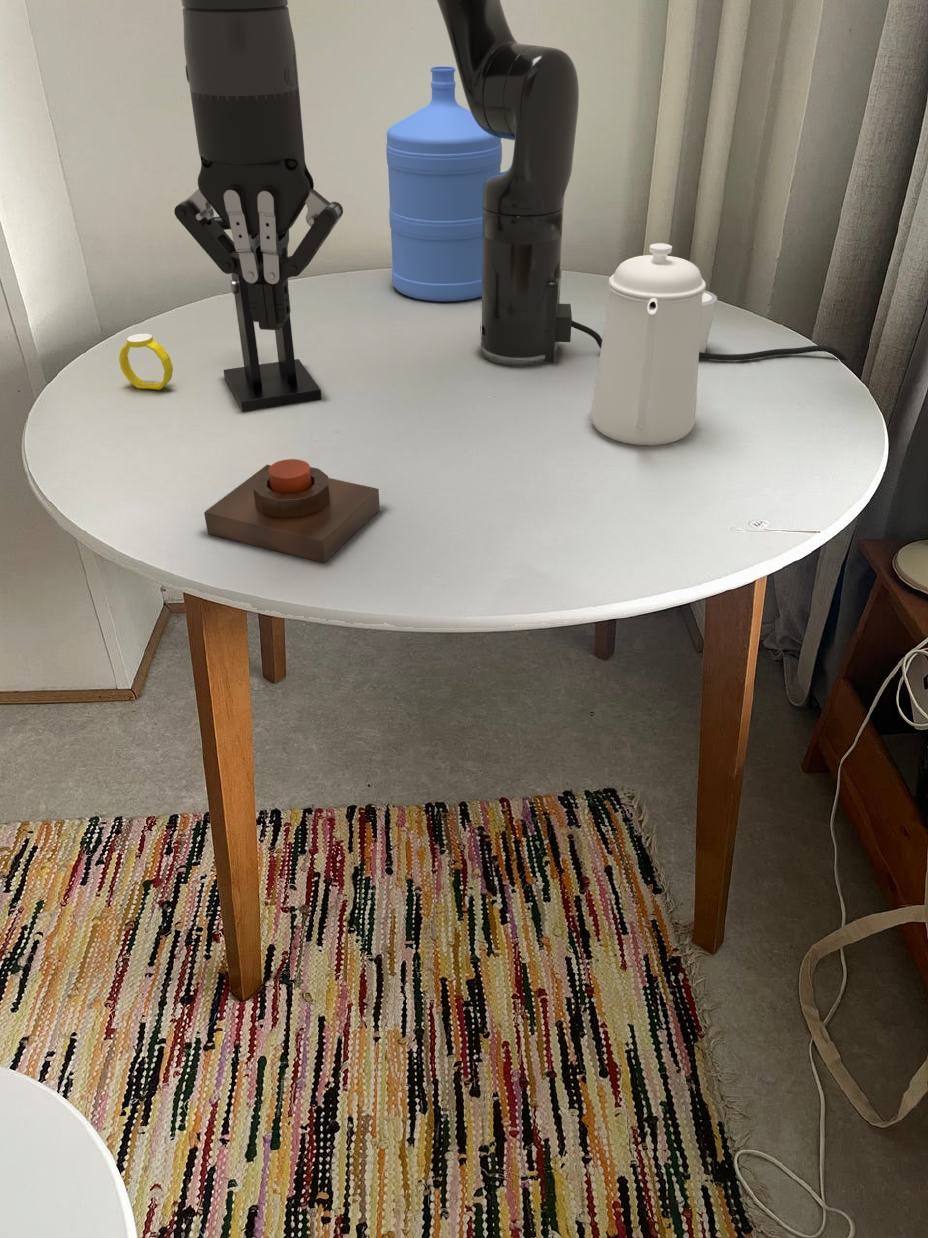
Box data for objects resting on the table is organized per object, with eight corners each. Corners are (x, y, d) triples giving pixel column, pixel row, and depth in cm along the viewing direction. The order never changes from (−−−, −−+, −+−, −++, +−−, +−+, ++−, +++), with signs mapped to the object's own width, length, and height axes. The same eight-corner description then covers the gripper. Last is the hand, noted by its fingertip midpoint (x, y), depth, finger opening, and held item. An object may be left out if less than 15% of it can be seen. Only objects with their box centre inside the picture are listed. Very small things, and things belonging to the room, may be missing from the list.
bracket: (224, 379, 117) (206, 258, 109) (299, 368, 120) (287, 250, 112) (242, 411, 110) (224, 285, 102) (321, 399, 112) (310, 275, 104)
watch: (180, 385, 116) (171, 335, 112) (167, 395, 113) (158, 344, 110) (134, 380, 117) (123, 330, 113) (121, 389, 115) (110, 338, 111)
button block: (380, 509, 92) (377, 470, 90) (324, 563, 84) (320, 522, 82) (269, 484, 96) (264, 446, 94) (207, 533, 88) (200, 493, 86)
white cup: (675, 338, 128) (681, 282, 124) (720, 351, 124) (729, 295, 120) (642, 352, 124) (648, 295, 120) (688, 366, 120) (695, 308, 116)
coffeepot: (577, 477, 97) (590, 282, 86) (600, 379, 117) (614, 210, 106) (691, 488, 95) (719, 289, 84) (695, 386, 115) (718, 215, 104)
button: (319, 481, 89) (317, 463, 88) (297, 499, 86) (295, 480, 85) (284, 473, 90) (282, 455, 89) (262, 491, 87) (260, 473, 86)
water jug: (472, 309, 137) (472, 79, 120) (372, 294, 142) (359, 72, 126) (516, 278, 148) (522, 63, 132) (422, 265, 154) (417, 57, 137)
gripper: (349, 77, 72) (363, 315, 82) (174, 73, 73) (209, 307, 84) (322, 92, 66) (341, 347, 76) (132, 88, 67) (175, 339, 77)
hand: (272, 326), depth 80 cm, fingers closed
